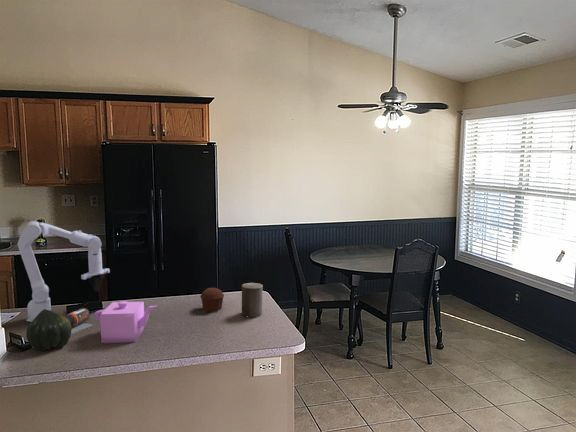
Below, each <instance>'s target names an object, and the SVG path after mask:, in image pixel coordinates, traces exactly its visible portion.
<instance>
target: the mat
mask: <svg viewBox="0 0 576 432" xmlns="http://www.w3.org/2000/svg"><path fill="white" fill-rule="evenodd" d="M91 327H94V324H91V323H88V322H83V323H81V324H79V325H77V326H75V327H71V335H73V334H77V333H79V332H81V331H84V330H86V329H89V328H91Z"/></svg>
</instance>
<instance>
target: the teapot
mask: <svg viewBox="0 0 576 432" xmlns="http://www.w3.org/2000/svg"><path fill="white" fill-rule="evenodd" d="M156 307H158V305H149V306H148V307H146V309H145V302H144V301H126V300H123V301H121V300H120V301H113V302H111V303H110V304H109V305H108V306H107V307H105V309H100V310H97V311H95V312H94V314H93V316H94V318H95V319H96V321H97V322H99V323H100V335H101V336H100V338H101V344H113V343H118V344H119V343H136V341H137V340H138V339H139V338H140V336H141V334H142V333H143V331H144V330H145V329H146V327H145V326H146V324H147V323H148V320H149V317H150V313H151V311H152V310H153V309H155V308H156Z"/></svg>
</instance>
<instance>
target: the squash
mask: <svg viewBox="0 0 576 432" xmlns="http://www.w3.org/2000/svg"><path fill="white" fill-rule="evenodd" d="M71 335H72V334H71V324H70V322H69V320H68V319H67V318H66V316H64V315H62V314H60V313H57V312H56V311H52V310H51V311H50V310H46V309H43V310H42V311H41V312H40V313H39V314H38V315H37V316H36V317H35V319H34V320H33V321H32V322H30V323H29V325H28V326H27V328H26V339H27V342H28V343H29V346H31V347H33V348H34V349H35V350H36V351H41V352H42V351H46V350H49V349H51V348H52V347H53V348H54V347H55V348H62V347H65V346H66V345H67V344H68V342H69V340H70V338H71Z"/></svg>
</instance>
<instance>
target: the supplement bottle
mask: <svg viewBox="0 0 576 432" xmlns="http://www.w3.org/2000/svg"><path fill="white" fill-rule="evenodd" d="M90 316H91V314H90V311H89V310H88V309H87V308H85V307H82V308H79V309H77V310H75V311H72V312H70V313H68V314H67V315H65V317H66V318H67V319H68V320H69V322H70V324H71V327H75V326H77V325H79V324H81V323H86V322H87V321H88V320H89V319H90Z"/></svg>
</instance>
